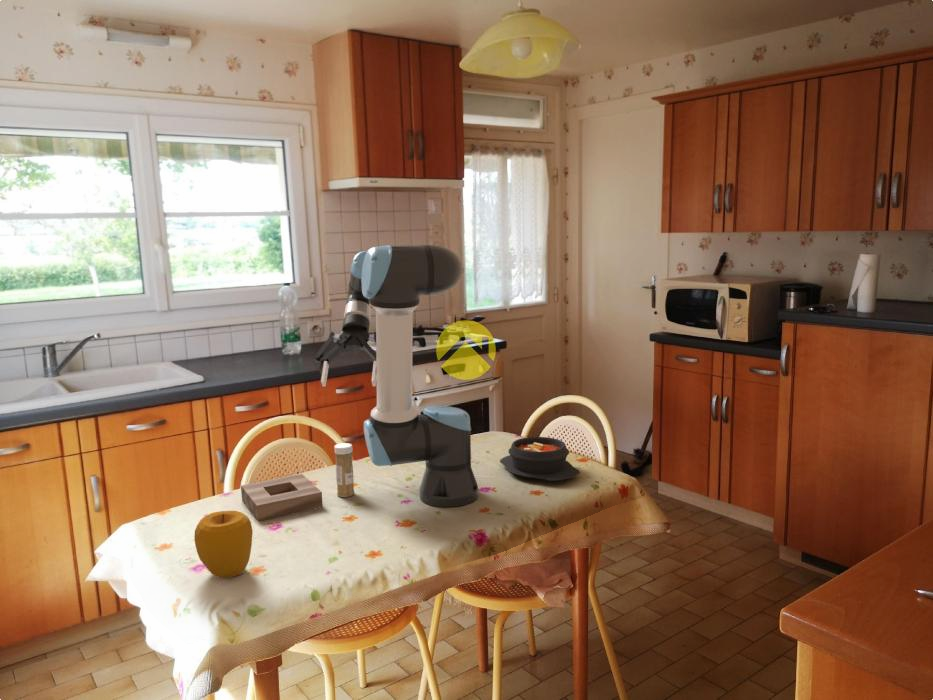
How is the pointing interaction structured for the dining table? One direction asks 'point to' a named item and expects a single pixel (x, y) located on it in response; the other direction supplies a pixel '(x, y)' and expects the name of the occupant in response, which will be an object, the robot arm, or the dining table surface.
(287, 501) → the frame
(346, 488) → the sprinkles bottle
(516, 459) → the casserole
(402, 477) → the dining table surface
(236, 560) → the apple
